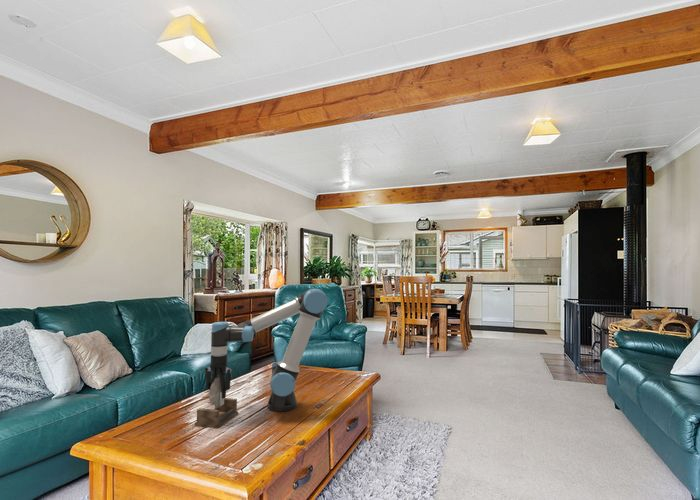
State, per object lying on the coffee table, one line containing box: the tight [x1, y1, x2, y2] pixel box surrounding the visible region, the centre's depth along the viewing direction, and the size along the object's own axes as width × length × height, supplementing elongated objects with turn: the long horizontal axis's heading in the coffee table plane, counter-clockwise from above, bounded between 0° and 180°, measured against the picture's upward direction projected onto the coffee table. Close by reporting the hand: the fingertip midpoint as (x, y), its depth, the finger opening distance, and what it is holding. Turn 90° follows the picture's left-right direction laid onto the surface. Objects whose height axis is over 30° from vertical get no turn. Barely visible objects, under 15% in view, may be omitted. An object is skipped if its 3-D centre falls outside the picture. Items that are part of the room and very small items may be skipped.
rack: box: [194, 397, 239, 429], centre depth 181 cm, size 12×18×7 cm, turn 167°
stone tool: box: [208, 375, 222, 409], centre depth 182 cm, size 11×4×15 cm, turn 161°
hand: (217, 404), depth 181 cm, fingers closed on stone tool, 4 cm apart
